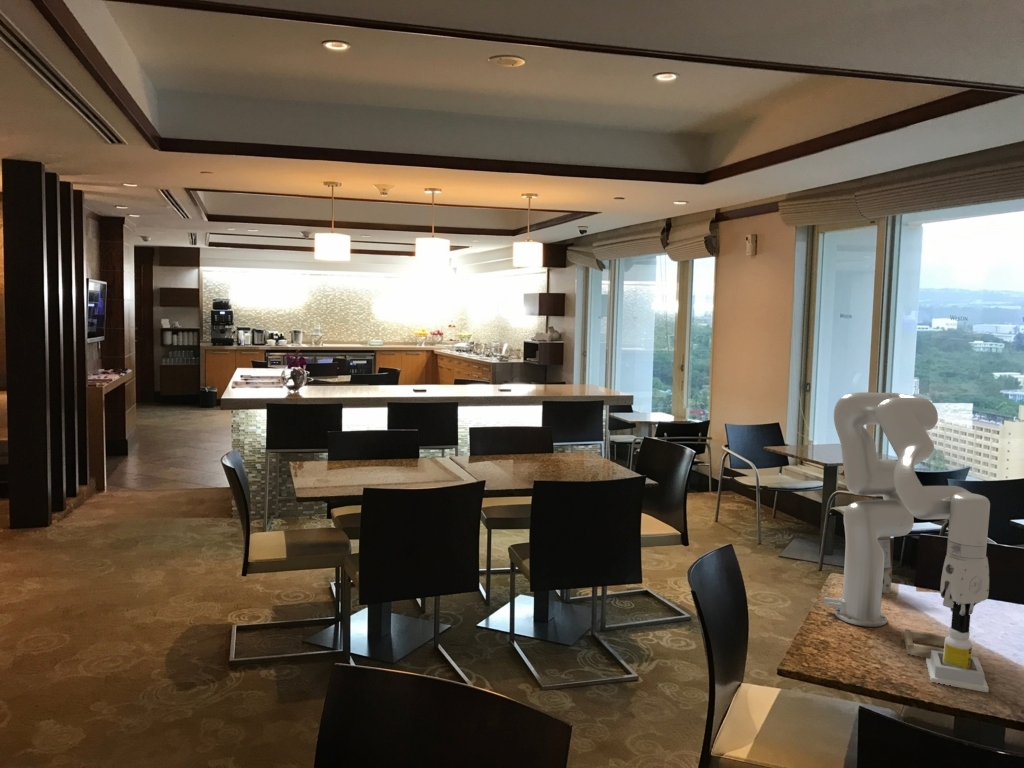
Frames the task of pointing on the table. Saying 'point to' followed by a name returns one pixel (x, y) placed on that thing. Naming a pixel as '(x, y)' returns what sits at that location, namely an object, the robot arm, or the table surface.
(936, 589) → the table surface
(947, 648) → the supplement bottle
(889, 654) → the table surface
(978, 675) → the socket
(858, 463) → the robot arm
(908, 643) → the beige square frame
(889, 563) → the coffee box
